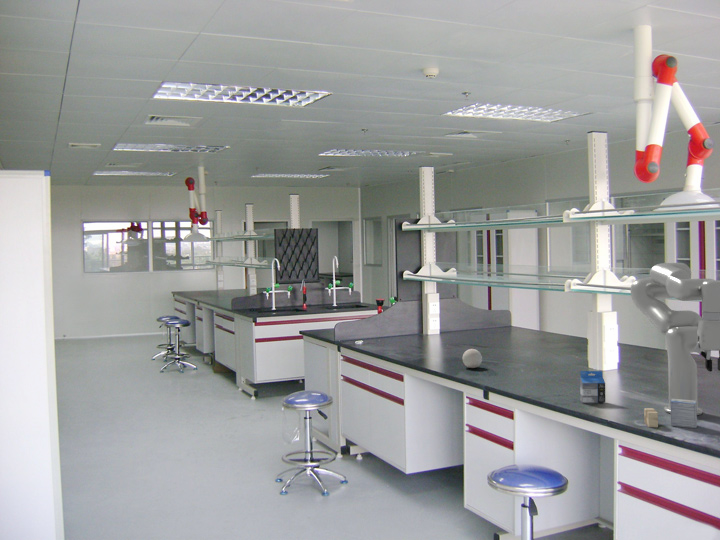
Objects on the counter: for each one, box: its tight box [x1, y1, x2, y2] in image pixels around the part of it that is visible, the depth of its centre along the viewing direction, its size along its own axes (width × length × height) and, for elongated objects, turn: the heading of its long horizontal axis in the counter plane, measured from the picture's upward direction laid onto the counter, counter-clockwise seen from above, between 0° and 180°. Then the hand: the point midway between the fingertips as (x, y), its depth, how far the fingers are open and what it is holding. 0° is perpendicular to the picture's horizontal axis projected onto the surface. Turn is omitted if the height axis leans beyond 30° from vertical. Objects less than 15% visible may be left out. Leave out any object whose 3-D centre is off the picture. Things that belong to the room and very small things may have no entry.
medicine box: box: [670, 399, 698, 429], centre depth 220 cm, size 8×4×9 cm, turn 59°
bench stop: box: [643, 407, 659, 428], centre depth 222 cm, size 6×3×5 cm, turn 169°
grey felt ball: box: [462, 348, 483, 369], centre depth 335 cm, size 10×10×10 cm
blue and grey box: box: [579, 370, 606, 404], centre depth 255 cm, size 9×4×12 cm, turn 84°
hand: (714, 370), depth 218 cm, fingers open, 2 cm apart
